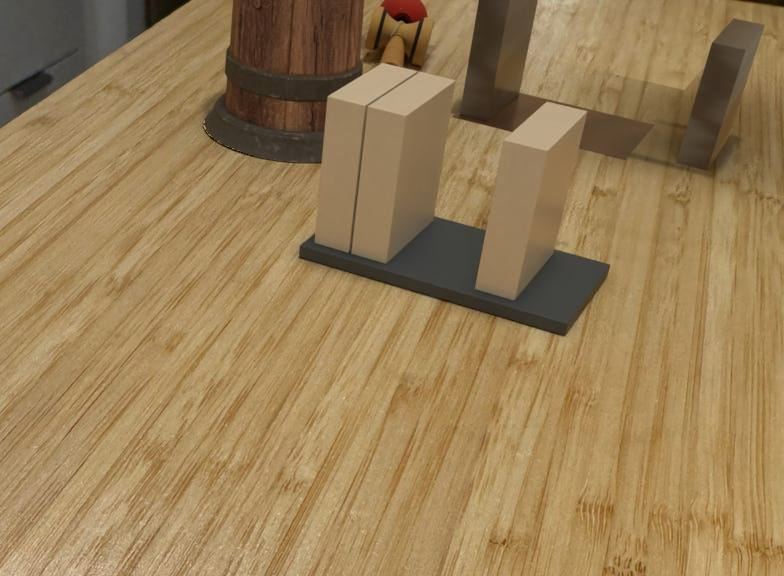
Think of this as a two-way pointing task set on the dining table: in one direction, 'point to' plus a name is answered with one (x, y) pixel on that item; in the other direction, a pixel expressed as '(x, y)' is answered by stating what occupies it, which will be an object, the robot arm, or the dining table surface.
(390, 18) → the kendama
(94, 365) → the dining table surface
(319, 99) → the tankard
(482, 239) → the dark base with blocks
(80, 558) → the dining table surface
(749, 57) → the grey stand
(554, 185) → the beige rectangular block
